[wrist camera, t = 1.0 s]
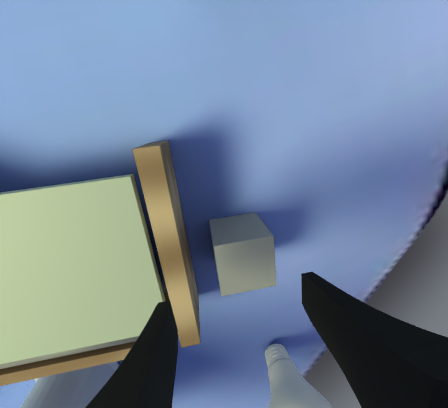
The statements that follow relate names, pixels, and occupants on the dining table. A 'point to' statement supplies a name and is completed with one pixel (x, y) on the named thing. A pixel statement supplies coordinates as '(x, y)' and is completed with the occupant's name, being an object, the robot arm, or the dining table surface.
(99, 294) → the hatch
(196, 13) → the dining table surface
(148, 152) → the hatch frame
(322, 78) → the dining table surface
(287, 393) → the lightbulb
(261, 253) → the gray block
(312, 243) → the dining table surface
